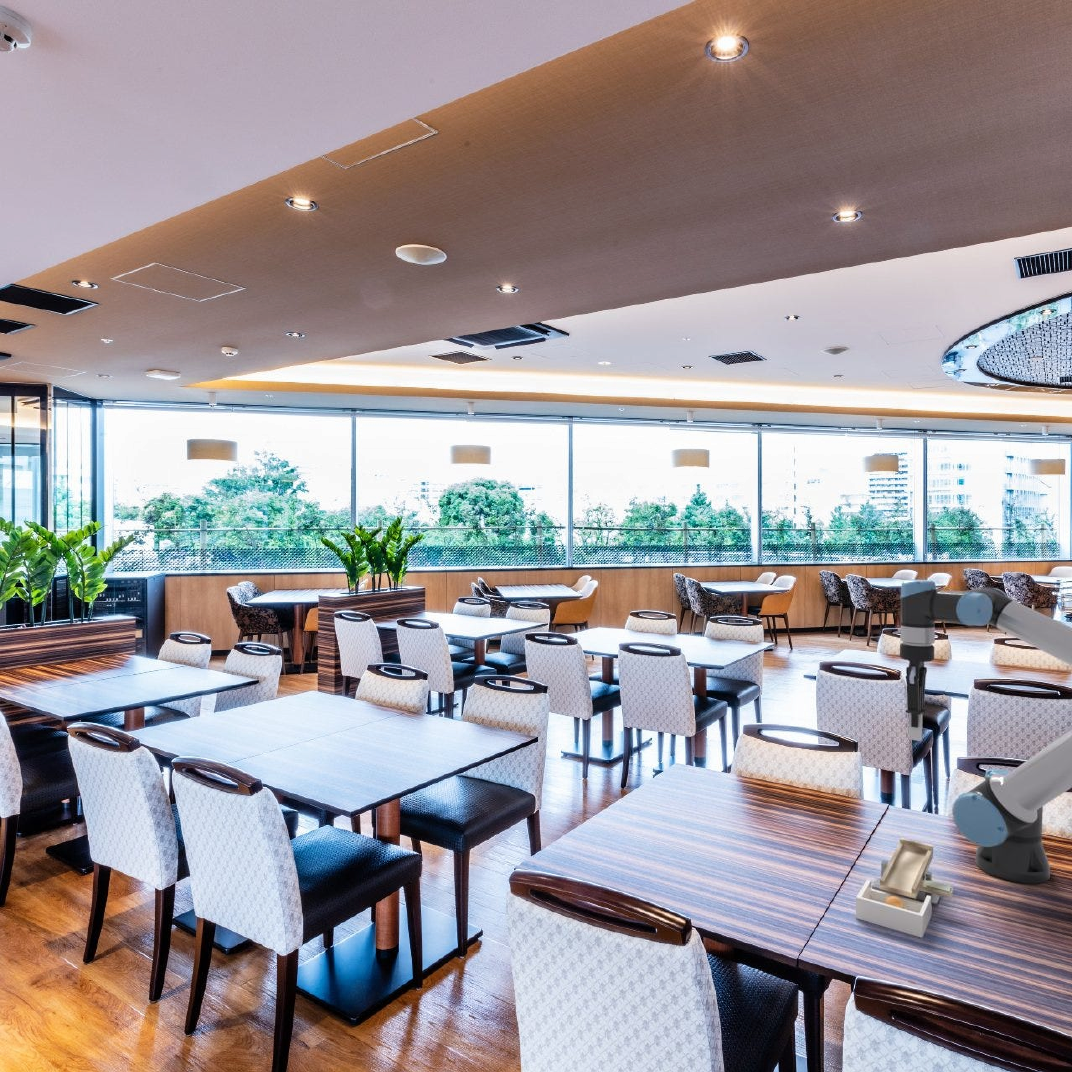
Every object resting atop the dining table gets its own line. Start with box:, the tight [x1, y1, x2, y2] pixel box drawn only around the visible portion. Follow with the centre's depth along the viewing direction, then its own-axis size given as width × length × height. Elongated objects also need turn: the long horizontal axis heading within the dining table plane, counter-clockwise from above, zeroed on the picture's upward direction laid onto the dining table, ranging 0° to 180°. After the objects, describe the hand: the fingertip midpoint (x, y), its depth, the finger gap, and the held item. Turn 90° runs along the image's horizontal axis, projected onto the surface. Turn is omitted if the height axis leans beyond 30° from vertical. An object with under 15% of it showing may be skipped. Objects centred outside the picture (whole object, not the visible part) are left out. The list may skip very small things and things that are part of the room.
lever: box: [880, 837, 954, 899], centre depth 170 cm, size 13×21×3 cm, turn 144°
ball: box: [886, 896, 904, 909], centre depth 161 cm, size 4×4×4 cm
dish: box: [855, 878, 933, 939], centre depth 161 cm, size 13×11×4 cm
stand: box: [871, 859, 941, 907], centre depth 171 cm, size 13×5×6 cm, turn 54°
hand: (915, 739), depth 187 cm, fingers closed
